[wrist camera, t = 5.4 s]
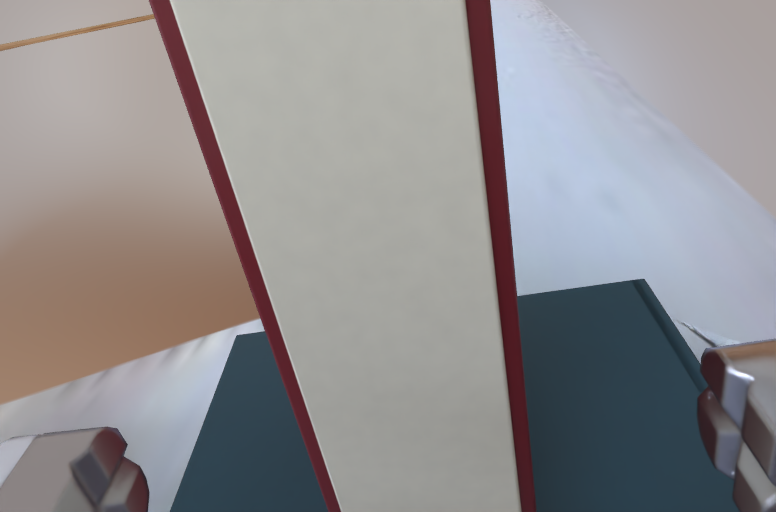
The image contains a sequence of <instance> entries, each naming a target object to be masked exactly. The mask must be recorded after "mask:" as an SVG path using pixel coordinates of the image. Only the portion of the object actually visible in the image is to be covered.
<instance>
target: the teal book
mask: <svg viewBox="0 0 776 512" xmlns="http://www.w3.org/2000/svg"><path fill="white" fill-rule="evenodd" d="M517 302H518V313H519V324H520V335H521V346H522V357H523V368H524V379H525V389H526V400H527V411H528V422H529V433H530V444H531V455H532V466H533V477H534V488H535V499H536V510H537V512H739V510H738V508H737V507H736V505H735V503H734V501H733V500H732V493H733V485H734V480H732V479H731V478H729V477H727V476H726V475H724V474H723V473H721V472H719V471H718V470H716V469H715V468H714V466H713V464H712V462H711V460H710V458H709V457H708V455H707V453H706V450H705V448H704V445H703V443H702V440H701V437H700V433H699V427H698V422H697V417H696V416H697V397H698V396H699V395H700V394H701V393H702V392H703V391H704V390H705V389H706V388H707V387H708V384H707V383H706V381H705V380H704V378H703V376H702V375H701V373H700V365H701V364H700V363H699V361H698V360H697V358H696V357H695V355H694V354H693V352H692V351H691V349H690V348H689V346H688V345H687V343H686V341H685V340H684V338H683V337H682V335H681V334H680V332H679V331H678V329H677V328H676V326H675V325H674V323H673V322H672V320H671V319H670V317H669V316H668V314H667V313H666V311H665V310H664V308H663V307H662V305H661V303H660V302H659V300H658V299H657V297H656V296H655V294H654V293H653V291H652V290H651V288H650V287H649V285H648V284H647V282H646V281H645V279H637V280H630V281H623V282H616V283H609V284H601V285H594V286H587V287H580V288H573V289H566V290H558V291H551V292H544V293H537V294H530V295H523V296H517ZM170 512H328V509H327V506H326V503H325V500H324V497H323V495H322V492H321V489H320V486H319V483H318V480H317V478H316V475H315V472H314V469H313V466H312V463H311V460H310V458H309V455H308V452H307V449H306V446H305V443H304V441H303V438H302V435H301V432H300V429H299V426H298V423H297V421H296V418H295V415H294V412H293V409H292V406H291V404H290V401H289V398H288V395H287V392H286V389H285V386H284V384H283V381H282V378H281V375H280V372H279V369H278V367H277V364H276V361H275V358H274V355H273V352H272V349H271V347H270V344H269V341H268V338H267V335H266V332H257V333H250V334H243V335H237V336H236V338H235V341H234V344H233V346H232V349H231V352H230V354H229V357H228V360H227V362H226V365H225V367H224V370H223V373H222V375H221V378H220V381H219V383H218V386H217V389H216V391H215V394H214V397H213V399H212V402H211V404H210V407H209V410H208V412H207V415H206V418H205V420H204V423H203V426H202V428H201V431H200V434H199V436H198V439H197V441H196V444H195V447H194V449H193V452H192V455H191V457H190V460H189V463H188V465H187V468H186V471H185V473H184V476H183V478H182V481H181V484H180V486H179V489H178V492H177V494H176V497H175V500H174V502H173V505H172V508H171V510H170Z"/></svg>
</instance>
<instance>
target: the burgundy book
mask: <svg viewBox="0 0 776 512" xmlns="http://www.w3.org/2000/svg"><path fill="white" fill-rule="evenodd" d="M149 2H150V5H151V8H152V11H153V13H154V16H155V19H156V22H157V25H158V28H159V31H160V33H161V36H162V39H163V42H164V45H165V47H166V50H167V53H168V56H169V59H170V62H171V65H172V68H173V70H174V73H175V76H176V79H177V82H178V85H179V87H180V90H181V93H182V96H183V99H184V102H185V104H186V107H187V110H188V113H189V116H190V119H191V122H192V124H193V127H194V130H195V133H196V136H197V139H198V141H199V144H200V147H201V150H202V153H203V156H204V159H205V161H206V164H207V167H208V170H209V173H210V175H211V179H212V181H213V184H214V187H215V190H216V193H217V195H218V198H219V201H220V204H221V207H222V210H223V213H224V216H225V218H226V221H227V224H228V227H229V230H230V233H231V236H232V238H233V241H234V244H235V247H236V250H237V253H238V255H239V258H240V261H241V264H242V267H243V269H244V272H245V275H246V278H247V281H248V284H249V287H250V290H251V292H252V295H253V298H254V301H255V304H256V307H257V309H258V312H259V315H260V318H261V321H262V324H263V327H264V330H265V332H266V335H267V338H268V341H269V344H270V347H271V349H272V352H273V355H274V358H275V361H276V364H277V367H278V369H279V372H280V375H281V378H282V381H283V384H284V386H285V389H286V392H287V395H288V398H289V401H290V404H291V406H292V409H293V412H294V415H295V418H296V421H297V423H298V426H299V429H300V432H301V435H302V438H303V441H304V443H305V446H306V449H307V452H308V455H309V458H310V460H311V463H312V466H313V469H314V472H315V475H316V478H317V480H318V483H319V486H320V489H321V492H322V495H323V497H324V500H325V503H326V506H327V509H328V512H537V510H536V499H535V488H534V477H533V466H532V455H531V444H530V433H529V422H528V411H527V400H526V389H525V379H524V368H523V357H522V346H521V335H520V324H519V313H518V302H517V291H516V280H515V269H514V258H513V247H512V236H511V225H510V214H509V203H508V192H507V181H506V170H505V159H504V148H503V137H502V126H501V115H500V104H499V93H498V82H497V71H496V60H495V49H494V38H493V27H492V16H491V5H490V0H149Z"/></svg>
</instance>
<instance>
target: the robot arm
mask: <svg viewBox="0 0 776 512" xmlns="http://www.w3.org/2000/svg"><path fill="white" fill-rule="evenodd" d="M700 373H701V375H702V376H703V378H704V380H705V381H706V383H707V384H708V387H707V388H706V389H705V390H704V391H703V392H702V393H701V394H700V395H699V396H698V397H697V416H696V417H697V422H698V427H699V433H700V437H701V440H702V443H703V445H704V448H705V450H706V453H707V455H708V457H709V458H710V460H711V462H712V464H713V466H714V468H715V469H716V470H718V471H719V472H721V473H723V474H724V475H726V476H727V477H729V478H731V479H732V480H734V485H733V493H732V500H733V501H734V503H735V505H736V507H737V508H738V510H739V512H776V339H769V340H762V341H755V342H747V343H740V344H733V345H726V346H718V347H711V348H706V349H705V351H704V353H703V355H702V357H701V365H700ZM127 445H128V444H127V443H126V441H125V440H124V438H123V437H122V435H121V433H120V432H119V430H118V429H117V428H111V427H99V428H89V429H80V430H70V431H61V432H51V433H44V434H41V435H30V436H20V437H12V438H10V439H9V440H7V441H5V442H3V443H1V444H0V512H148V503H149V489H148V484H147V480H146V477H145V475H144V473H143V471H142V469H141V468H140V466H139V465H137V464H136V463H134V462H132V461H131V460H129V459H127V458H126V457H124V454H125V451H126V448H127Z"/></svg>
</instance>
